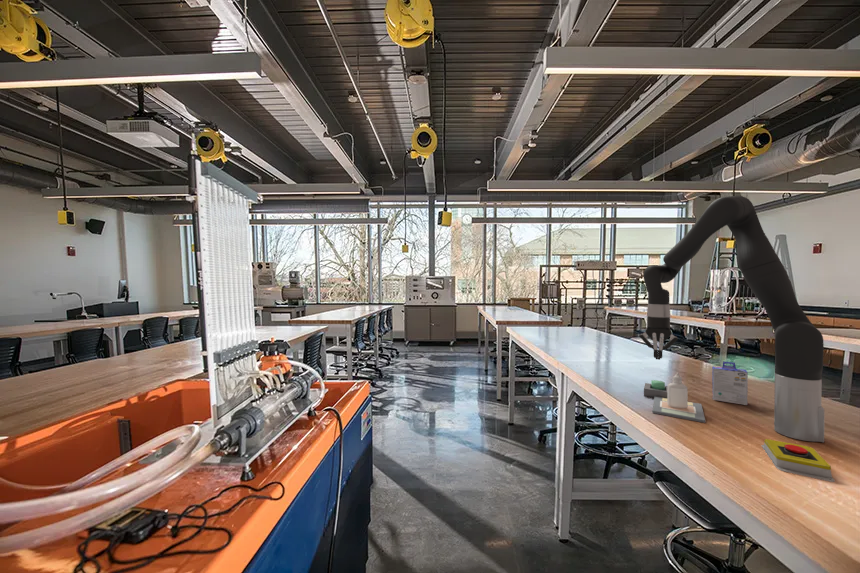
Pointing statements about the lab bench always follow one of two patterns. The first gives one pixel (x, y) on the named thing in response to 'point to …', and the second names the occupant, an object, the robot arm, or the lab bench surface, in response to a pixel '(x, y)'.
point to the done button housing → (654, 391)
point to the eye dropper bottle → (677, 393)
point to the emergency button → (797, 459)
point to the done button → (657, 385)
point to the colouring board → (678, 410)
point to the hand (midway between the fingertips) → (658, 359)
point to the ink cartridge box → (730, 384)
